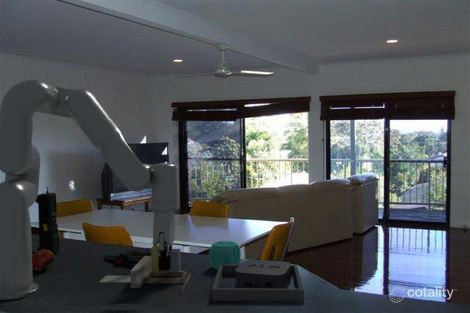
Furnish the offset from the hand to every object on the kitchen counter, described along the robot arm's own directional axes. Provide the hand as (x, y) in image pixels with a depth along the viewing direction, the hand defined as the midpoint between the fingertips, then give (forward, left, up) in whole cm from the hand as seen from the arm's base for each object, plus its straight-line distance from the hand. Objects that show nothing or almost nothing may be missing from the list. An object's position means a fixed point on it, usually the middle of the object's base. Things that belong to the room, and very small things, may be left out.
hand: (166, 267), depth 139 cm
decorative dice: (+16, +18, -5) cm, 25 cm away
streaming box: (+29, +1, -5) cm, 29 cm away
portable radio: (-51, +34, -5) cm, 62 cm away
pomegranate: (-43, +13, -5) cm, 45 cm away
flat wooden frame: (-7, 0, -5) cm, 9 cm away
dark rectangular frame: (+27, -2, -5) cm, 27 cm away
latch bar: (+1, 0, -1) cm, 1 cm away
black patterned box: (-15, +21, -5) cm, 26 cm away
